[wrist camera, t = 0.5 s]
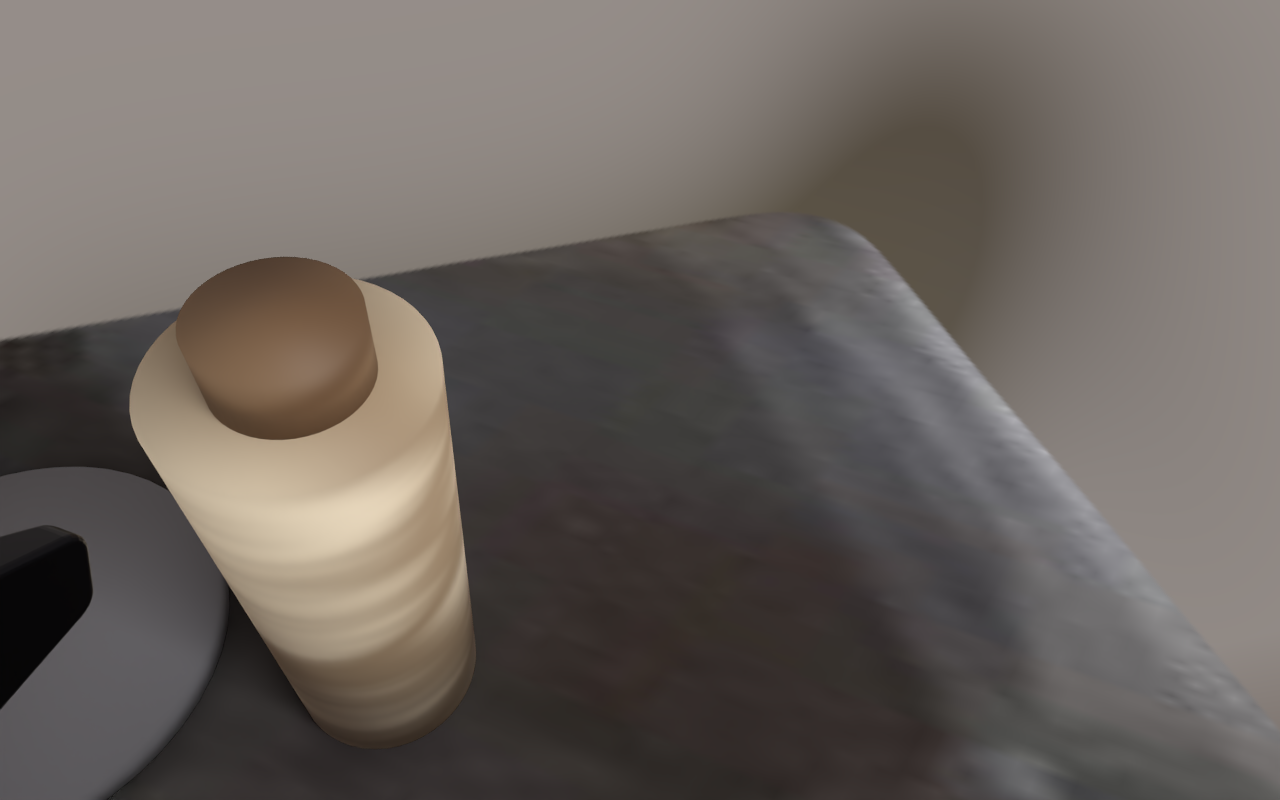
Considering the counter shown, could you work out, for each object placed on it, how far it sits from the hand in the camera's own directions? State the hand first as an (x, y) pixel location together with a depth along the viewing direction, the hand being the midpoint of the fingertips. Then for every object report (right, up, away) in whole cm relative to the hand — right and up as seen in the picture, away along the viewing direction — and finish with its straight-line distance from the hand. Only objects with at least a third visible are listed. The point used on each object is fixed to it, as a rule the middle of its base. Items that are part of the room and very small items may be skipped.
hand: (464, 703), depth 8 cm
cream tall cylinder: (-6, -5, +15) cm, 17 cm away
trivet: (-16, -4, +15) cm, 22 cm away
